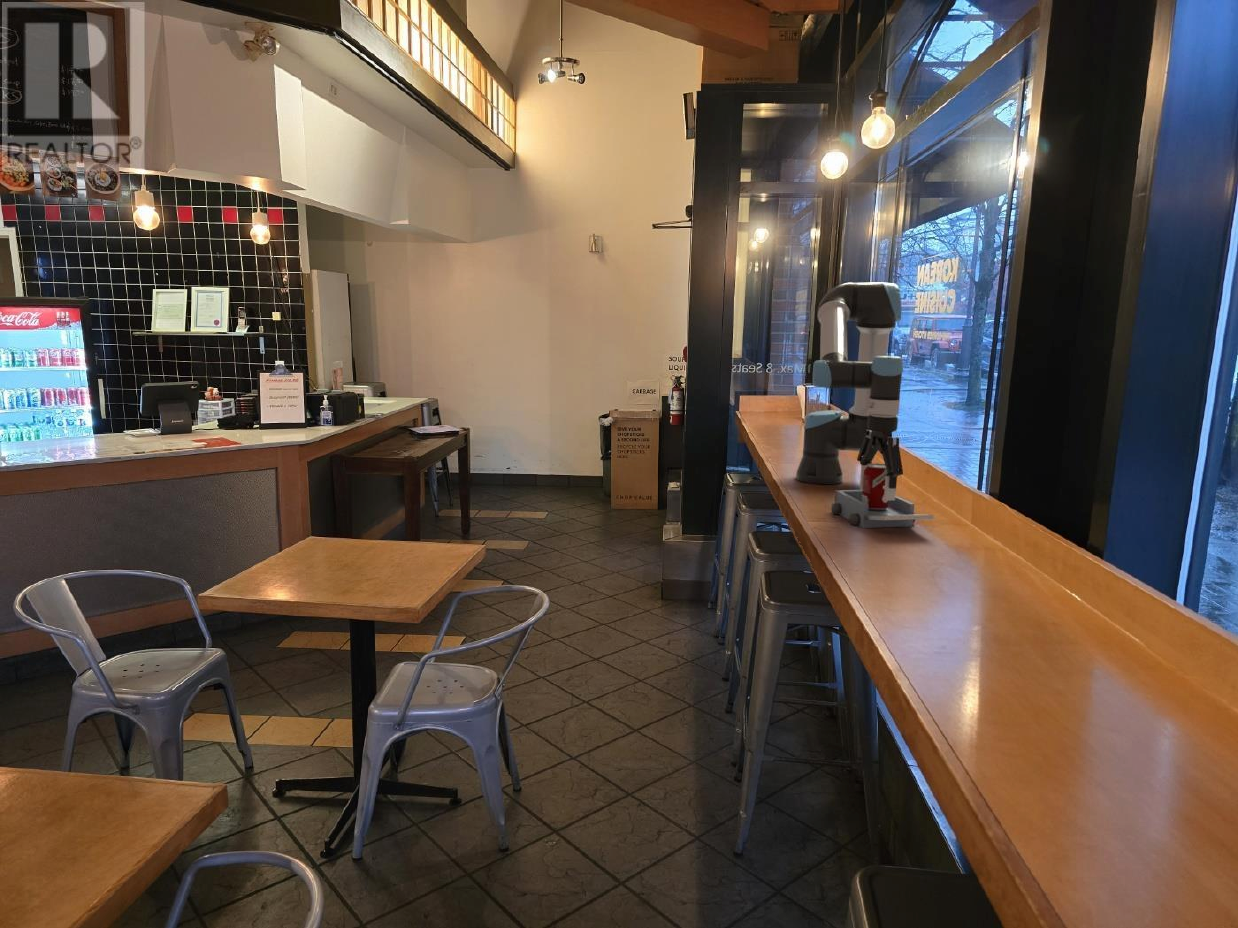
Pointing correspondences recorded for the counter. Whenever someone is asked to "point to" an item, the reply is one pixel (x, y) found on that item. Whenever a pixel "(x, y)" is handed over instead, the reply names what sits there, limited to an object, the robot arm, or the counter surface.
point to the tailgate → (898, 517)
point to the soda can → (874, 487)
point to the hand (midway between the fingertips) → (876, 494)
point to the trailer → (855, 510)
